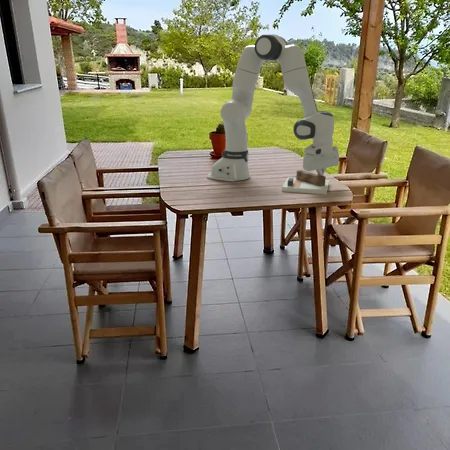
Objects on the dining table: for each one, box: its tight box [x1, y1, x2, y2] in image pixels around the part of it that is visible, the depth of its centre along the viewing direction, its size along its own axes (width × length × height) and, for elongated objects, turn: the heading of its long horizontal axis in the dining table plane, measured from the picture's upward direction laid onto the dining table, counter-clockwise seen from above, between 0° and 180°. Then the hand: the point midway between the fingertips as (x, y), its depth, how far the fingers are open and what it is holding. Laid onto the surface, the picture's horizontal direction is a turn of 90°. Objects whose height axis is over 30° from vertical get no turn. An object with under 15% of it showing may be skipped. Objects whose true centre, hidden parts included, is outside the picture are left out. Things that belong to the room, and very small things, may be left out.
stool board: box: [281, 176, 330, 195], centre depth 191 cm, size 20×18×4 cm
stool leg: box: [295, 169, 327, 186], centre depth 193 cm, size 17×3×4 cm, turn 35°
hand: (320, 177), depth 191 cm, fingers closed
